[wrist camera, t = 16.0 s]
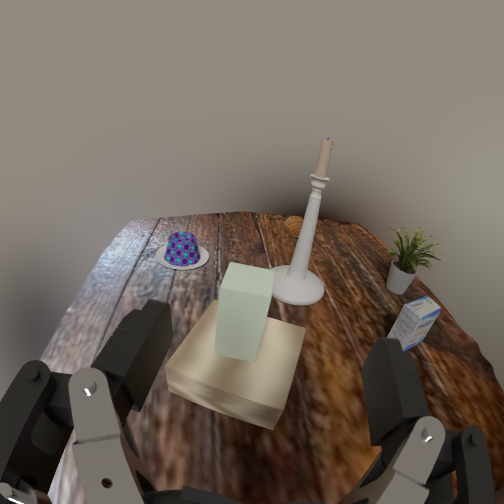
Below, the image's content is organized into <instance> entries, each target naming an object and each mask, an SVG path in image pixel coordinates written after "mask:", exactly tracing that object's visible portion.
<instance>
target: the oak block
mask: <svg viewBox="0 0 504 504" xmlns="http://www.w3.org/2000/svg"><path fill="white" fill-rule="evenodd" d="M218 302H219V301H217V300H213V302H212V303H211V304H210V306H209V307H208V308H207V310H206V311H205V312H204V314H203V315H202V316H201V318H200V319H199V320H198V322H197V323H196V324H195V326H194V327H193V329H192V330H191V331H190V333H189V334H188V335H187V337H186V338H185V339H184V341H183V342H182V343H181V345H180V346H179V347H178V349H177V350H176V351H175V353H174V354H173V355H172V357H171V358H170V360H169V361H168V362H167V364H166V365H165V371H166V377H167V383H168V389H169V391H171V392H173V393H175V394H177V395H179V396H181V397H184V398H186V399H188V400H190V401H193V402H195V403H197V404H200V405H202V406H205V407H207V408H210V409H212V410H215V411H217V412H220V413H223V414H225V415H228V416H231V417H234V418H237V419H239V420H242V421H245V422H248V423H251V424H255V425H258V426H261V427H264V428H268V429H271V430H273V429H274V427H275V425H276V424H277V422H278V420H279V418H280V416H281V414H282V412H283V410H284V407H285V404H286V400H287V397H288V394H289V390H290V387H291V383H292V380H293V376H294V373H295V369H296V365H297V362H298V358H299V354H300V350H301V347H302V343H303V339H304V335H305V331H306V328H303V327H300V326H296V325H293V324H289V323H286V322H283V321H279V320H276V319H273V318H269V317H266V321H265V325H264V329H263V333H262V337H261V341H260V345H259V349H258V353H257V357H256V361H255V362H250V361H245V360H240V359H235V358H230V357H226V356H221V355H217V354H214V345H215V334H216V323H217V312H218Z"/></svg>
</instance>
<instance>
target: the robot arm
mask: <svg viewBox="0 0 504 504" xmlns="http://www.w3.org/2000/svg"><path fill="white" fill-rule="evenodd" d="M172 336H173V330H172V320H171V310H170V305H169V303H165V302H161V301H157V300H152V299H150V300H148V301H147V303H146V304H145V306H144V307H143V309H142V310H137V309H135V310H133V311H132V312H130V313H129V314H127V315H126V316H125V317H124V318H123V319H122V321H121V322H120V324H119V325H118V328H116V330H115V331H114V332H113V335H112V336H111V337H110V338H109V340H108V341H107V343H106V344H105V346H104V347H103V349H102V350H101V352H100V353H99V355H98V357H97V358H96V360H95V361H94V363H93V364H92V365H91V367H88V368H82V369H80V370H78V371H76V372H75V373H74V374H64V373H56V372H51V371H50V369H49V368H48V366H47V365H46V364H45V363H44V362H42V361H39V360H33V361H30V362H27V363H26V364H25V365H24V366H22V368H21V369H20V371H19V373H18V374H17V375H16V377H15V379H14V380H13V382H12V383H11V385H10V387H9V388H8V390H7V391H6V393H5V395H4V397H3V398H2V400H1V402H0V504H52V502H51V500H50V498H49V497H48V496H47V495H48V492H49V489H50V486H51V483H52V480H53V478H54V475H55V472H56V470H57V467H58V464H59V462H60V459H61V457H62V454H63V452H64V449H65V447H66V445H67V442H68V440H69V438H70V435H71V433H72V431H73V428H75V433H76V442H74V443H73V446H72V449H73V455H74V460H75V464H76V468H77V471H78V475H79V478H80V482H81V485H82V488H83V491H84V494H85V497H86V500H87V503H88V504H244V503H241V502H238V501H236V500H233V499H230V498H228V497H225V496H223V495H221V494H218V493H213V492H208V491H203V490H199V489H195V488H191V487H187V486H183V490H165V491H159V492H158V491H157V489H156V487H155V485H154V483H153V480H152V478H151V476H150V474H149V472H148V470H147V468H146V466H145V465H144V463H143V461H142V458H141V456H140V453H139V451H138V448H137V445H136V443H135V440H134V437H133V434H132V431H131V428H130V425H129V422H128V419H127V416H128V414H129V412H130V410H131V409H132V410H135V411H137V412H140V411H141V409H142V406H143V404H144V402H145V400H146V397H147V395H148V393H149V391H150V388H151V386H152V384H153V382H154V380H155V377H156V375H157V373H158V371H159V369H160V367H161V364H162V362H163V360H164V358H165V356H166V354H167V351H168V349H169V347H170V345H171V341H172ZM417 373H418V372H417V369H416V365H415V362H414V361H413V359H412V358H411V357H410V355H409V354H408V353H407V352H403V349H402V346H401V343H400V341H399V339H397V338H384V337H380V338H379V339H378V340H377V342H376V343H375V345H374V347H373V349H372V350H371V352H370V354H369V355H368V357H367V359H366V360H365V362H364V365H363V369H362V379H363V386H364V392H365V399H366V406H367V414H368V422H369V431H370V440H371V446H380V445H381V447H382V451H381V452H380V453H379V454H378V455H377V457H376V458H375V460H374V461H373V463H372V464H371V466H370V467H369V469H368V470H367V472H366V473H365V474H364V476H363V477H362V478H361V480H360V481H359V483H358V484H357V485H356V486H355V488H354V489H353V490H352V491H351V492H350V493H348V494H347V495H346V496H345V497H344V498H343V499H342V500H341V501H340V502H339V503H338V504H504V487H503V488H501V489H499V490H498V491H496V492H495V493H494V486H493V478H492V470H491V464H490V458H489V453H488V448H487V443H486V439H485V435H484V433H483V431H482V430H481V429H480V428H479V427H477V426H475V425H470V426H468V427H466V428H465V429H464V430H463V431H461V432H456V431H451V430H446V429H444V427H443V425H442V423H441V422H440V421H439V420H438V419H436V418H434V417H431V416H430V413H429V409H428V405H427V402H426V398H425V395H424V391H423V388H422V384H421V383H420V378H419V375H417ZM455 470H456V477H457V487H458V495H457V498H456V499H455V501H454V498H453V484H452V474H451V472H453V471H455ZM109 487H110V488H109ZM324 503H325V502H288V503H282V504H324Z"/></svg>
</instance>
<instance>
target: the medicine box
mask: <svg viewBox="0 0 504 504" xmlns="http://www.w3.org/2000/svg"><path fill="white" fill-rule="evenodd" d="M440 310H441V307H440V306H439V305H437V304H436V303H435V302H434V301H433V300H432V299H430V298H429V297H428V296H425V297H423V298H420V299H418V300H415V301H413V302H410V303H407V304H405V305H404V306H403V308H402V310H401V312H400V314H399V316H398V318H397V320H396V322H395V323H394V325H393V327H392V329H391V331H390V333H389V334H388V336H387V338H397V339H399V341H400V343H401V346H402V349H403V352H405V351H406V350H408V349H410V348H412V347H413V346H415V345H417V344H418V343H420V342H422V340H423V339H424V337H425V336H426V334H427V333H428V331H429V329H430V328H431V326H432V324H433V323H434V321H435V319H436V318H437V316H438V314H439V312H440Z"/></svg>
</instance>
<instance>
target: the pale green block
mask: <svg viewBox="0 0 504 504" xmlns="http://www.w3.org/2000/svg"><path fill="white" fill-rule="evenodd" d="M273 280H274V271H273V270H268V269H263V268H258V267H253V266H248V265H243V264H238V263H233V262H230V264H229V267H228V269H227V271H226V274H225V276H224V279H223V281H222V284H221V286H220V292H219V302H218V312H217V323H216V334H215V345H214V354H217V355H221V356H226V357H230V358H235V359H240V360H245V361H250V362H255V361H256V357H257V353H258V349H259V345H260V341H261V337H262V333H263V329H264V325H265V321H266V317H267V313H268V309H269V305H270V301H271V296H272V288H273Z"/></svg>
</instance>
